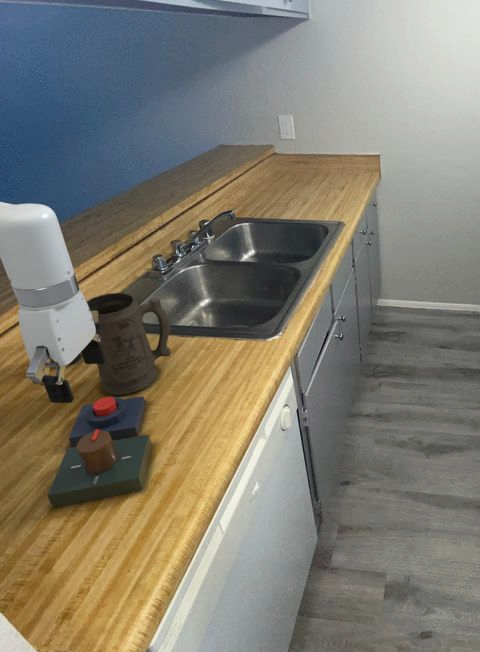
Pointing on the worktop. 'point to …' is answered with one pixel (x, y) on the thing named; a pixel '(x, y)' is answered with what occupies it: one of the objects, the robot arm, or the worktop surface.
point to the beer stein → (128, 342)
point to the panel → (101, 474)
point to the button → (105, 406)
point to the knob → (97, 451)
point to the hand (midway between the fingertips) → (80, 381)
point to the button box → (110, 420)
